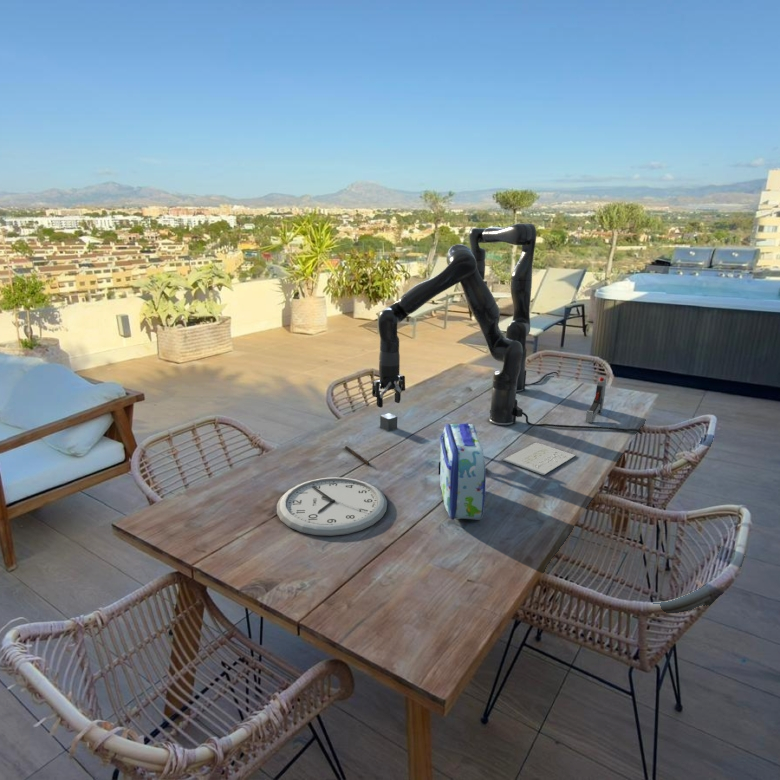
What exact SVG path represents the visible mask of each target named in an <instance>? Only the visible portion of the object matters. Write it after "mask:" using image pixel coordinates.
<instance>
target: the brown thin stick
mask: <svg viewBox="0 0 780 780" xmlns="http://www.w3.org/2000/svg"><path fill="white" fill-rule="evenodd" d="M344 449H345V450H346V451H348V452H349V453H350V454H352V455H353V456H355V457H356V458H358V459H359V460H361V461H362V462H363V463H364V464H366V465H370V461H368V460H367V459H366V458H364V457H363V456H361V455H360V454H358V453H357V452H356V451H354V450H353V449H352V448H350V447H348V446H347V445H345V446H344Z"/></svg>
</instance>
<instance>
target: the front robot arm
mask: <svg viewBox="0 0 780 780" xmlns="http://www.w3.org/2000/svg"><path fill="white" fill-rule="evenodd" d="M446 264H447V266H445V268H444V269H443V270H442V271H441V272H439V273H438V274H436V275H435V276H433V277H431V278H430V279H427V280H424V281H422V282H419V283H417V284H416V285H414V286H412V288H410V289H408V291H406V292H405V293H404V294H402V295H401V296H400V297H399V299H398V300H396V301H395V302H393V303H392V304H391V305H390V306H388V307H387V308H385V309H383V310H382V311H380V313H379V315H378V320H377V327H378V334H379V355H378V375H379V380H372V390H371V396H372V397H375V398H376V406H377V408H383V406H384V405H383V404H384V399H383V397H384V395H385V394H387V392H388V391H390V390H394V403H397V404H400V402H401V396H402V395H401V393H402V392H404V391H406V376H405V375H403V374H400V369H401V368H400V367H401V365H400V364H401V362H400V361H401V360H400V359H401V357H400V337H399V336H398V325H399V324H401V323H402V322H403V321H404V320H405V319H406V318H407V317H408V316H410V315H411V314H413V313H415V312H416V311H418V310H419V309H420V308H421V307H423V306H424V305H426V304H427V303H428V302H429V301H430V300H432V299H434V298H435V297H437V296H439V295H440V294H441V293H443V292H445V291H447V290H448V289H450V288H452V287H453V286H456V285H457V284H460V286H461V288H462V291H463V294H464V297H465V300H466V302H467V305H468V307H469V310H470V312H471V314H472V316H473V317H474V320H475V321H476V323H477V325H478V326H479V329H480V331H481V333H482V334H483V337H484V339H485V342H486V345H487V347H488V351H489V353H490V355H491V357H492V358H493V359H494V360H495V361H496V362H501V363H503V365H502V369H497V370H495V371H494V372H493V374H492V388H491V399H490V409H489V414H490V415H489V422H490V423H491V424H494V425H497V426H511V425H513V424H516V423H517V418H521V417H522V418H523V416H524V418H525V422H526V424H527V425H529V426H534V427H554V428H555V427H556V428H568V429H569V428H572V429H596V430H610V431H611V430H613V431H622V432H637V433H638V434H640V435H643V433H642V431H641V430H639V429H637V428H621V427H610V426H597V425H596V426H594V425H593V426H592V425H571V424H570V425H567V424H551V423H531V422H530V421H529V416H528V414H527V413H525V412H524V410H523V409H522V408H521V407H520V406H518V399H517V392H516V389H517V379H518V376H519V373H520V369H521V362H522V355H523V348H522V345H521V343H520V342H519V341H516V340H512V339H508V338H506V336H504V335H503V333H502V331H501V328H500V327H499V322H500V317H501V311H500V307H499V305H498V303H497V301H496V299H495V297H494V295H493V293H492V292H491V290H490V289H489V287H488V284H487V285H486V284H485V282H484V281H485V279H484V280H483V279H482V277H481V276H480V274H479V272H478V269H477V262H476V259H475V257H474V255H473V252H472V251H471V247H470V248H469V247H468V246H467V245H465V244H462V243H460V244H459V243H458V244H454V245H452V246H451V247H450V248H449V249H448V251H447V254H446Z"/></svg>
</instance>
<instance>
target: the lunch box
mask: <svg viewBox="0 0 780 780" xmlns="http://www.w3.org/2000/svg"><path fill="white" fill-rule="evenodd" d="M439 439H440V458H439V459H440V461H438V475H440V480H439V481H440V482H439V484H440V485H439V486H440V489H441V494H442V500H443V504H444V509H445V511H446V513H447V515H448V517H449V518H450V519H451V520H455V519H456V520H458V519H459V520H460V519H463V520H464V519H465V520H476V521H477V520H480V521H481V520H482V518H483V516H484V511H485V502H486V501H485V499H486V472H485V470H486V463H485V458H484V450H483V447H482V444H481V442H480V439H479V437H478V434H477V431H476V428H475V425H474V424H473V423H471V424H470V423H468V422H467V423H458V424H455V423H453V424H451V423H447V424H444V427H443V432H442V434H441V435H440V438H439Z"/></svg>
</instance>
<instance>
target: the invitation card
mask: <svg viewBox="0 0 780 780" xmlns="http://www.w3.org/2000/svg"><path fill="white" fill-rule="evenodd" d="M576 456H577V455H576V454H573V453H570V452H567V451H565V450H561V449H558V448H555V447H552V446H549V445H546V444H543V443H539V442H534V443H532V444H529V445H528V446H526V447H524V448H522V449H520V450H518V451H516V452H514V453H512V454H510V455H509V456H507V457H505V458H503V459H502V461H503V462H506V463H509V464H511V465H514V466H518V467H520V468H523V469H525V470H528V471H531V472H534V473H536V474H539V475H541V476H545V475H547V474H548V473H550V472H552V471H554V469H556V468H558V467H559V466H561V465H563V464H564V463H566V462H568V461H570V460H571V459H572V458H574V457H576Z"/></svg>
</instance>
